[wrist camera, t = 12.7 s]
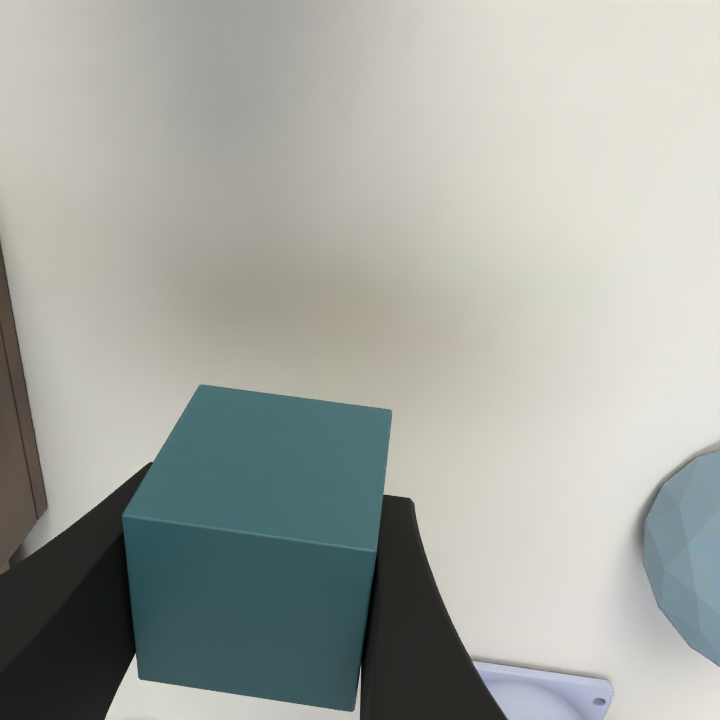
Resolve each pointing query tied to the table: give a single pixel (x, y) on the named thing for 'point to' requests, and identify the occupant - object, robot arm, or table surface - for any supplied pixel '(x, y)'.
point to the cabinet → (15, 442)
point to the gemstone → (688, 553)
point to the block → (259, 546)
